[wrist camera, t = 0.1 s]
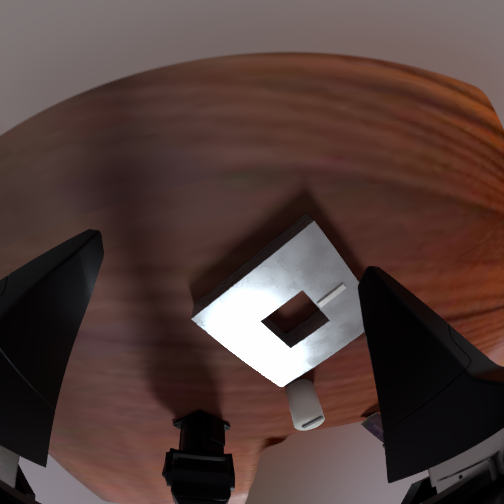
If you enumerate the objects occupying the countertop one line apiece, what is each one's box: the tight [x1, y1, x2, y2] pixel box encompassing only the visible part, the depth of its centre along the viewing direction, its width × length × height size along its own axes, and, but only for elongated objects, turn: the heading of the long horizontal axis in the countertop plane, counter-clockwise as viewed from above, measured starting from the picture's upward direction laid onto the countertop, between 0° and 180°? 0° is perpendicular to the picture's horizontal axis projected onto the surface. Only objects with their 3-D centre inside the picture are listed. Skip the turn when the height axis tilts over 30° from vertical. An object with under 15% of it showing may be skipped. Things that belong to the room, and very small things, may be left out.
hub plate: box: [191, 214, 364, 387], centre depth 27 cm, size 14×14×3 cm
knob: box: [286, 379, 325, 430], centre depth 30 cm, size 4×4×6 cm
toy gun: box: [361, 412, 385, 449], centre depth 39 cm, size 2×21×10 cm, turn 71°
